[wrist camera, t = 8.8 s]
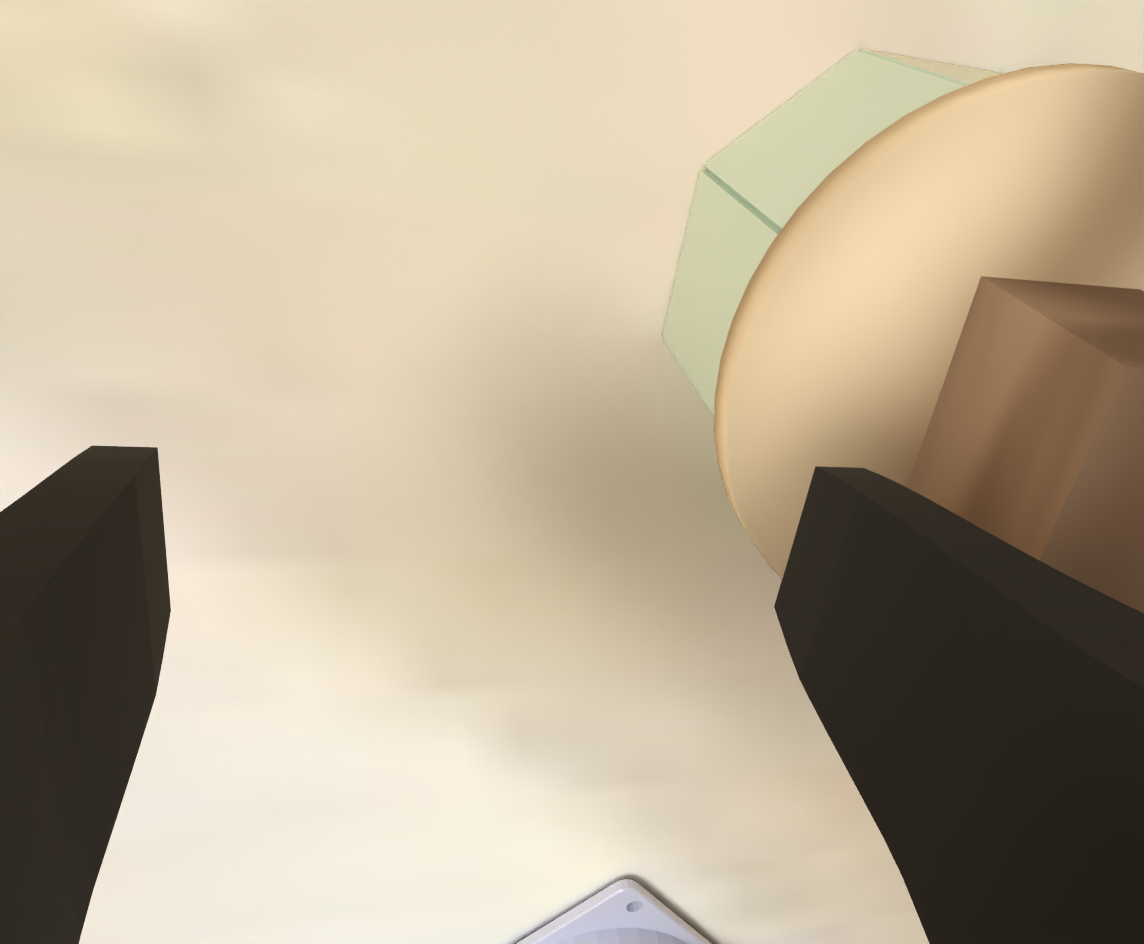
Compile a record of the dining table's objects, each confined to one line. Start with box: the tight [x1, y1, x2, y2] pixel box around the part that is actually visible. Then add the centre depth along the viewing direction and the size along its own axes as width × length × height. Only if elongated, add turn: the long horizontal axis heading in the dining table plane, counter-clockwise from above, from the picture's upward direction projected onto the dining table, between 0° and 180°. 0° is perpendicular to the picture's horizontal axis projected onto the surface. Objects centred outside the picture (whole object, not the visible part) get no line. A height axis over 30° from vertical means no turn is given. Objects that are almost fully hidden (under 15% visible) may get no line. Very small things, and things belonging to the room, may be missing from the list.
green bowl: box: [662, 48, 1004, 416], centre depth 20 cm, size 9×9×5 cm
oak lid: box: [714, 63, 1144, 613], centre depth 16 cm, size 10×10×4 cm
